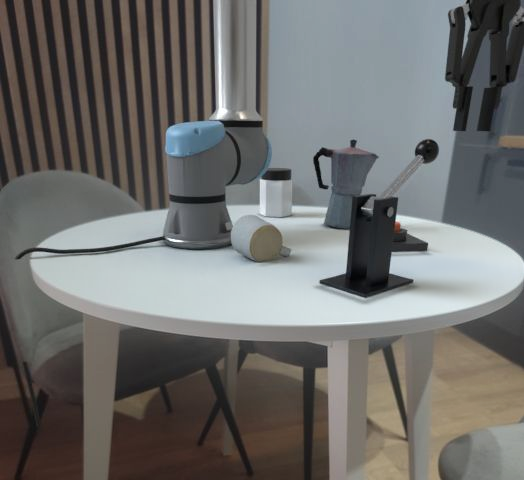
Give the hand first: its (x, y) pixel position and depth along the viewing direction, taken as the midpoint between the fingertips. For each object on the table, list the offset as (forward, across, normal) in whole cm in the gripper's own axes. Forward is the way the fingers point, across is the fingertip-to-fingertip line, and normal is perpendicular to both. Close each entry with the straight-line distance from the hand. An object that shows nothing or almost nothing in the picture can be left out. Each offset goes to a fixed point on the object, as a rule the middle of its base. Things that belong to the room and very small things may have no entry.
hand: (471, 130), depth 83 cm
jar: (+23, -22, +55) cm, 63 cm away
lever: (+8, -15, -8) cm, 19 cm away
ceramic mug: (+23, -34, +8) cm, 42 cm away
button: (+19, -7, +12) cm, 23 cm away
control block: (+23, -7, +12) cm, 26 cm away
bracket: (+23, -21, -12) cm, 33 cm away
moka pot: (+23, -9, +37) cm, 44 cm away
